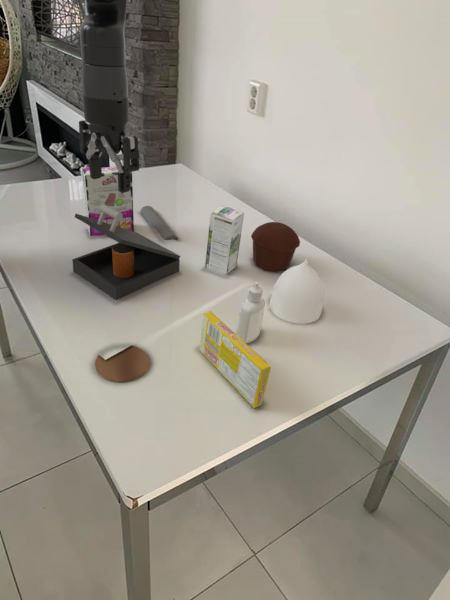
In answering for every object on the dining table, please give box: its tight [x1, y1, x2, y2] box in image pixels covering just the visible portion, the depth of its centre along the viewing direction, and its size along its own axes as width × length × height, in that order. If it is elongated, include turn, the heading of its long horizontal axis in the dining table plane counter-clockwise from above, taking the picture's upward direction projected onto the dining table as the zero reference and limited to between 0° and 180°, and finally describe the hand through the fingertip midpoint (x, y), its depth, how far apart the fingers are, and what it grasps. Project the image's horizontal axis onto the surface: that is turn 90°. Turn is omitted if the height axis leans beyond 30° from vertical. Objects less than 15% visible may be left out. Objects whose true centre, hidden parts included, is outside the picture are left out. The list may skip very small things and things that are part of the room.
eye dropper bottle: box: [236, 281, 266, 345], centre depth 83 cm, size 4×6×12 cm
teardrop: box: [269, 258, 326, 325], centre depth 92 cm, size 11×11×12 cm
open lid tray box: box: [71, 242, 181, 301], centre depth 99 cm, size 18×15×4 cm
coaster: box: [94, 345, 150, 383], centre depth 76 cm, size 9×9×1 cm
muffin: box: [251, 221, 301, 273], centre depth 108 cm, size 12×11×10 cm
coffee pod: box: [112, 243, 134, 278], centre depth 97 cm, size 5×5×6 cm
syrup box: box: [204, 205, 245, 276], centre depth 102 cm, size 6×6×14 cm
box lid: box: [74, 205, 181, 260], centre depth 95 cm, size 18×15×5 cm
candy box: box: [199, 311, 272, 409], centre depth 74 cm, size 16×2×8 cm, turn 35°
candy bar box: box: [81, 166, 135, 237], centre depth 111 cm, size 11×5×16 cm, turn 114°
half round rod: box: [140, 205, 179, 241], centre depth 121 cm, size 4×20×2 cm, turn 26°
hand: (110, 184), depth 86 cm, fingers open, 8 cm apart
